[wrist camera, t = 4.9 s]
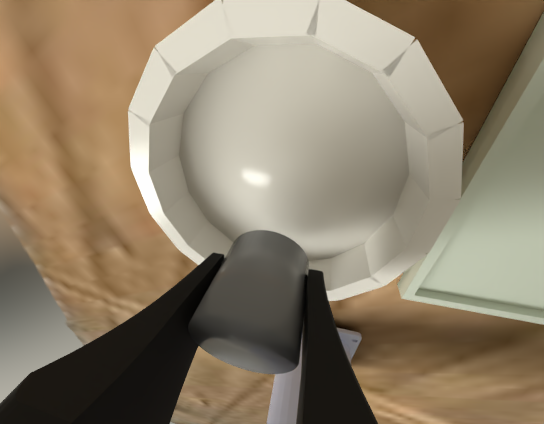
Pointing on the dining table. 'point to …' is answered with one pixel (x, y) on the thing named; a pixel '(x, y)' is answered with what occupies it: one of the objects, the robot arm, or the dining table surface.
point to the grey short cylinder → (255, 305)
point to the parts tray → (496, 209)
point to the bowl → (298, 137)
